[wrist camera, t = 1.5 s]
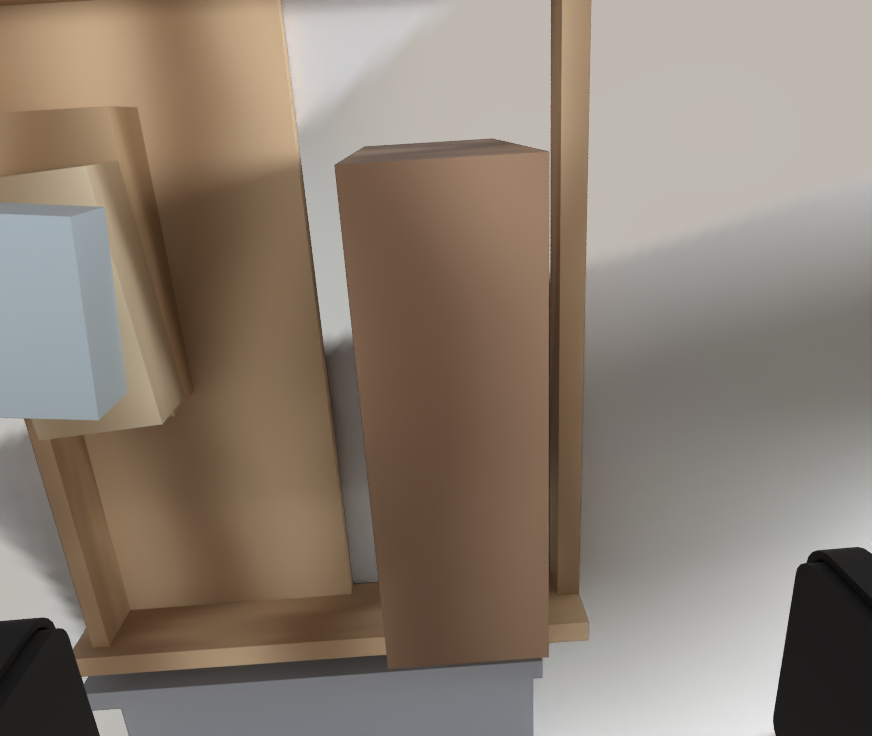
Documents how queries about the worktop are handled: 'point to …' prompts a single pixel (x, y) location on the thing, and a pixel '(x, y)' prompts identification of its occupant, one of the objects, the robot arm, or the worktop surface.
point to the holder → (325, 699)
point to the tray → (251, 348)
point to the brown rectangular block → (453, 391)
